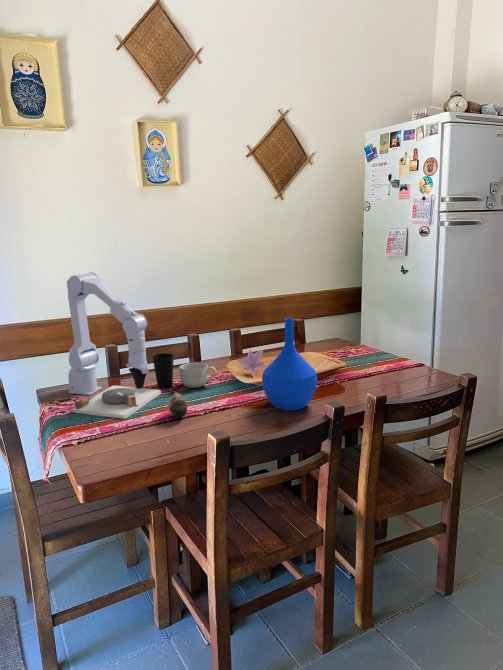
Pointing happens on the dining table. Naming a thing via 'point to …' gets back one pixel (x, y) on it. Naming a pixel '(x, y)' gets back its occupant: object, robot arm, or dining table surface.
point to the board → (117, 410)
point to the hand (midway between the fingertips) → (139, 387)
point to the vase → (289, 376)
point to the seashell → (177, 405)
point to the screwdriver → (83, 402)
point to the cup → (164, 370)
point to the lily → (252, 361)
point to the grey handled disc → (119, 396)
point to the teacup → (195, 374)
